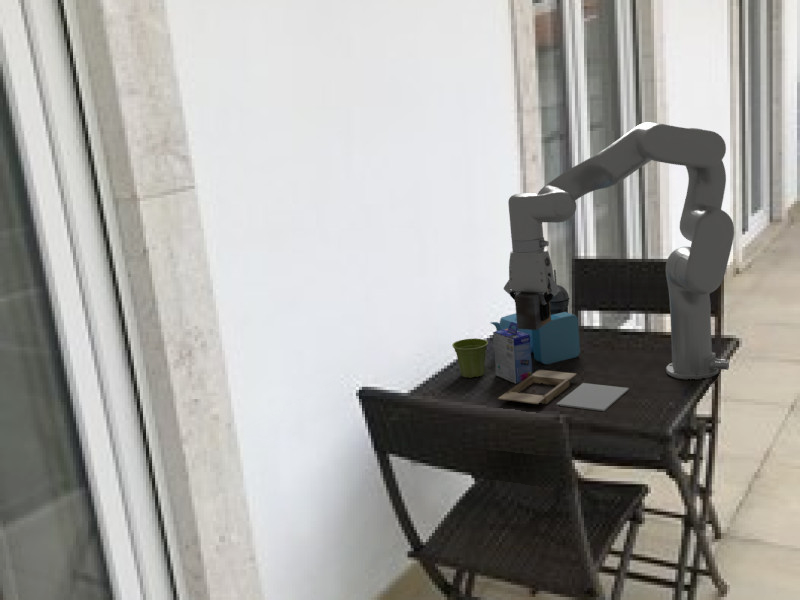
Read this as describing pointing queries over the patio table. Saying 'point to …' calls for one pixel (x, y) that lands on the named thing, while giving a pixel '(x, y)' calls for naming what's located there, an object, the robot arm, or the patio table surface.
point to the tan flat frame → (539, 377)
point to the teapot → (506, 323)
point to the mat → (593, 396)
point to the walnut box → (529, 311)
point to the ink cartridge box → (512, 354)
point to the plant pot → (471, 356)
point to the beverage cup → (559, 300)
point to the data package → (557, 339)
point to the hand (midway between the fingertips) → (534, 317)
